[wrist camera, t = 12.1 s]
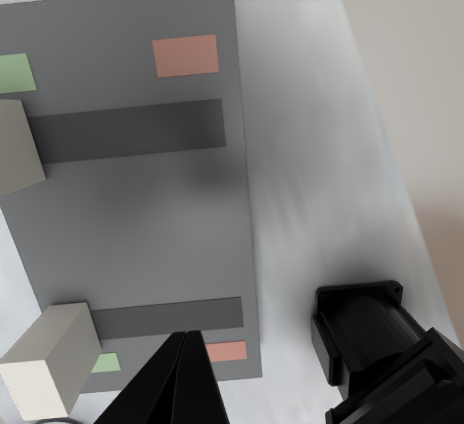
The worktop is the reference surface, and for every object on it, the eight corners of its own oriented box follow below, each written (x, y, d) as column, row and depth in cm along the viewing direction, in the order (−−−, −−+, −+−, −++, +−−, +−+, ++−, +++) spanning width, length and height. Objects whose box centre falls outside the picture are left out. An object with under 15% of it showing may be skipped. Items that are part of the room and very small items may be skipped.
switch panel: (231, 5, 15) (232, -20, 12) (257, 345, 23) (262, 378, 20) (-21, 30, 15) (-78, 11, 13) (91, 360, 23) (73, 395, 21)
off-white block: (86, 302, 18) (44, 359, 14) (102, 350, 19) (68, 416, 15) (49, 305, 18) (-5, 364, 14) (67, 354, 19) (23, 420, 15)
